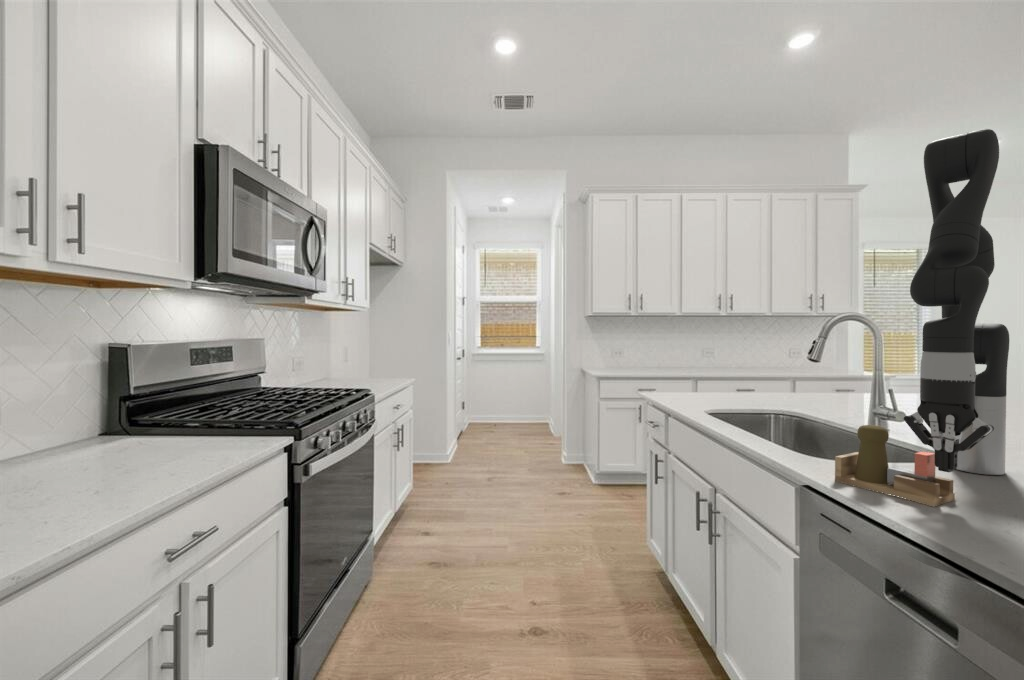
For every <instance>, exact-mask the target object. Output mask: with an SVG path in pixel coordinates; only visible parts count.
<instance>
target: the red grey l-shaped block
mask: <svg viewBox="0 0 1024 680" xmlns="http://www.w3.org/2000/svg"><path fill="white" fill-rule="evenodd" d="M895 475H902V476H906V477H910V478H915V479H919V480H924V481H928V482H932V483H935V476H936V466H935V452H928V451H927V452H926V451H919V452H915V453H914V469H911V468H905V467H901V466H900V467H899V466H896V465H895V466H892V467H889V468H887V483H888V484H892V485H894V476H895Z"/></svg>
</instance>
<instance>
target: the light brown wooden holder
mask: <svg viewBox="0 0 1024 680" xmlns="http://www.w3.org/2000/svg"><path fill="white" fill-rule="evenodd" d="M858 453H859V451H855V452H851V453H850V452H849V453H847V454H846V453H845V454H841V455H835V456H834V458H835V460H834V481H835V482H837V483H841V484H845V485H849V486H852V485H854V487H856V486H858V487H857V488H860V487H861V489H864V488H866V489H865V490H868V489H870V490H869V491H871V490H874V491H873V492H875V491H878V492H877V493H879V492H883V493H887V494H891V495H895V496H899V497H903V498H906V499H909V500H908V501H910V500H912V501H911V502H913V501H916V502H915V503H917V502H919V503H918V504H921V503H922V505H925V504H926V506H929V507H937V506H940V505H943V504H945V503H949V502H952V501H954V500H955V499H956V498H955V497H956V496H955V495H956V494H955V493H954V479H950V478H947V477H941V476H937V475H935V483H932V482H928V481H924V480H919V479H915V478H910V477H906V476H902V475H895V476H894V485H892V484H888V483H887V484H878V483H870V482H865V481H862V480H858V479H856V478H855V477H854V476H855V470H856V465H857V459H858ZM883 493H882V494H883ZM887 494H886V495H887ZM891 495H890V496H891ZM906 499H905V500H906Z"/></svg>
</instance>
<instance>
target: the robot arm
mask: <svg viewBox="0 0 1024 680" xmlns="http://www.w3.org/2000/svg"><path fill="white" fill-rule="evenodd" d="M999 160H1000V143H999V139H998V135H997V133H996V132H995V131H994V130H993V129H990V128H984V129H978V130H973V131H969V132H965V133H961V134H956V135H953V136H948V137H944V138H941V139H936V140H934V141H931V142H929V143H928V144H927V145H926V147H925V149H924V153H923V168H924V169H923V170H924V174H925V175H924V176H925V181H926V187H927V193H928V198H929V202H930V209H931V215H932V222H933V223H932V226H931V230H930V235H929V242H928V247H927V248H928V249H927V251H926V252H927V253H926V254H925V257H924V259H923V260H922V263H921V264H920V265H919V267H918V268H917V271H916V272H915V274H914V275H913V278H912V279H911V283H910V287H909V292H910V293H909V294H910V297H911V299H912V300H913V302H914V303H916V304H917V305H919V306H920V307H929V308H930V307H941V318H937V319H933V320H928V321H926V322H925V323H924V324H923V326H922V349H921V350H922V352H921V353H922V354H921V359H920V370H919V371H920V380H919V385H920V386H919V387H920V388H919V390H920V392H919V400H920V403H919V406H917V410H916V411H915V412H913V413H911V414H910V415H905V416H904V417H903V420H904V422H905V423H906V424H907V426H908V427H909V429H910V430H911V431H912V432H913V433H914V434H915V436H916V437H917V438H918V439H919V441H920V442H921V443H922V444H923V445H924V446H925V445H926V446H929V447H931V448H933V450H934V454H935V468H936V467H937V470H938V471H940V472H943V473H951V472H952V473H953V471H954V470H958V471H962V472H967V473H972V474H978V475H979V474H980V475H988V476H990V475H991V476H1001V475H1005V474H1006V450H1007V449H1006V445H1007V442H1006V441H1007V439H1006V437H1007V385H1008V384H1007V377H1008V364H1009V363H1008V361H1009V352H1010V332H1009V330H1008V328H1007V326H1006V325H1005V324H1002V323H977V318H978V315H979V311H980V309H981V306H982V305H983V302H984V299H985V298H986V294H987V292H988V289H989V285H990V279H989V278H990V277H991V276H992V273H993V272H994V269H995V266H996V265H995V252H994V239H993V237H992V235H991V233H990V232H989V231H988V230H987V229H986V228H985V227H984V226H983V225H982V219H983V216H984V211H985V208H986V206H987V205H986V204H987V202H988V199H989V196H990V194H991V190H992V186H993V183H994V181H995V176H996V173H997V169H998V164H999ZM963 181H968V182H967V183H966V184H965V186H964V187H963V188H962V190H960V192H958V193H957V195H955V196H954V194H953V192H952V190H951V187H950V184H953V183H954V184H955V183H959V182H963ZM976 365H986V367H985V369H984V370H983V371H982V372H980V373H977V371H976ZM924 422H925V423H926V425H927V426H928V427H929V429H930V430H929V429H928V428H927V427H926V426H925V424H924Z"/></svg>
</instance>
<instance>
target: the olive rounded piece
mask: <svg viewBox="0 0 1024 680" xmlns="http://www.w3.org/2000/svg"><path fill="white" fill-rule="evenodd" d="M889 435H890V434H889V431H888V429H886V428H885V427H883V426H879V425H875V424H865V425H864V424H863V425H861V426H859V427H858V429H857V438H858V439H859V441H860V442H859V449H858V452H859V453H858V459H857V465H856V470H855V476H854V477H855V478H856V479H858V480H862V481H865V482H870V483H878V484H887V468H890V467H889V461H888V455H887V447H886V446H887V445H886V443H887V442H888V441H889V438H890V437H889Z"/></svg>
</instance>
